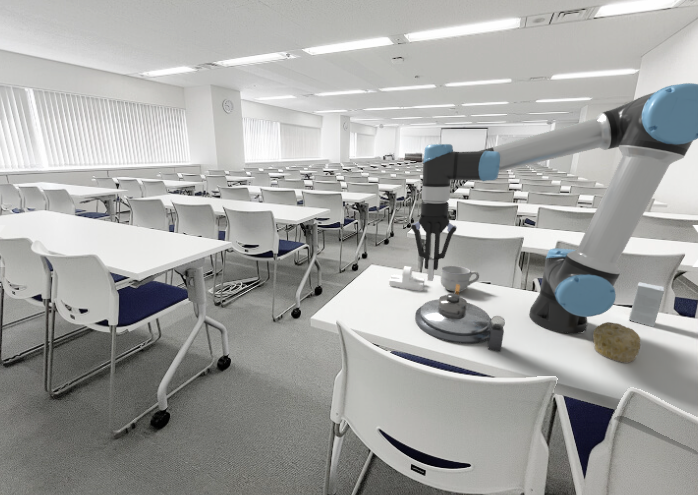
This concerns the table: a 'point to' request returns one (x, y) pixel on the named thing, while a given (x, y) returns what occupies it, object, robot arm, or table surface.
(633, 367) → the table surface
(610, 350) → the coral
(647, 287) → the skincare box
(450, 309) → the cover
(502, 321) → the dark bottle
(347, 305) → the table surface
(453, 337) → the turntable base
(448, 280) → the teacup
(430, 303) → the turntable
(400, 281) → the slotted bracket
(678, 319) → the table surface
